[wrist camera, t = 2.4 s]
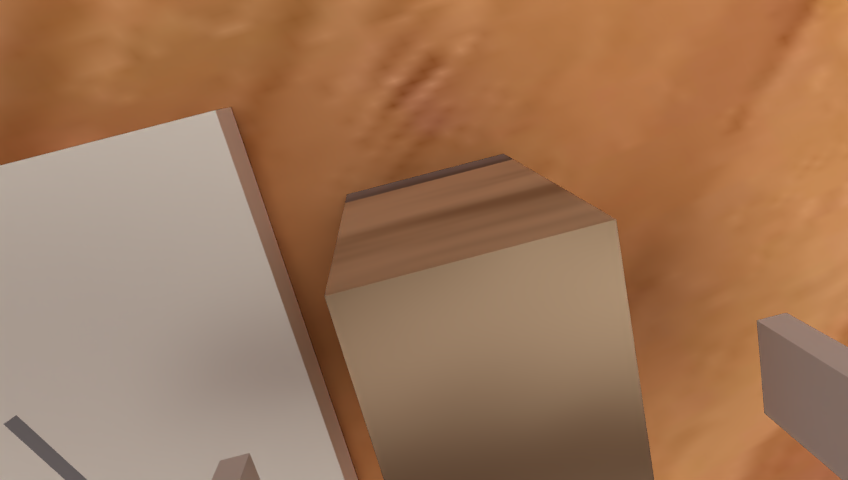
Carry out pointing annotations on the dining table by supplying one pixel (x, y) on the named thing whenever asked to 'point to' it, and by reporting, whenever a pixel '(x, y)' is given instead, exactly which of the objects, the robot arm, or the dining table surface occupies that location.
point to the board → (153, 317)
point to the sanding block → (488, 329)
